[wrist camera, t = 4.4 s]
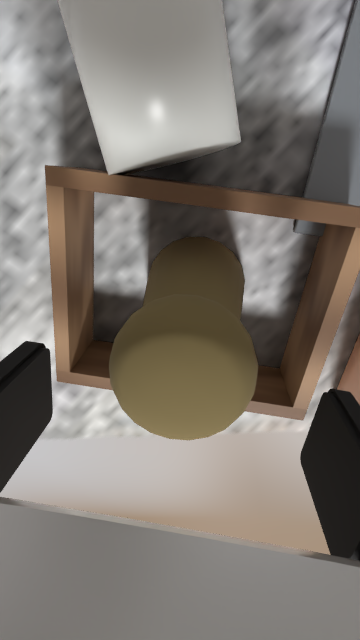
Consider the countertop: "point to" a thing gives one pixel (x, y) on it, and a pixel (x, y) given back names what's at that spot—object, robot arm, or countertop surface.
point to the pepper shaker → (186, 345)
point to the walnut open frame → (332, 249)
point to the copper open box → (352, 373)
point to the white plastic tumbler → (154, 79)
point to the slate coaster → (338, 135)
